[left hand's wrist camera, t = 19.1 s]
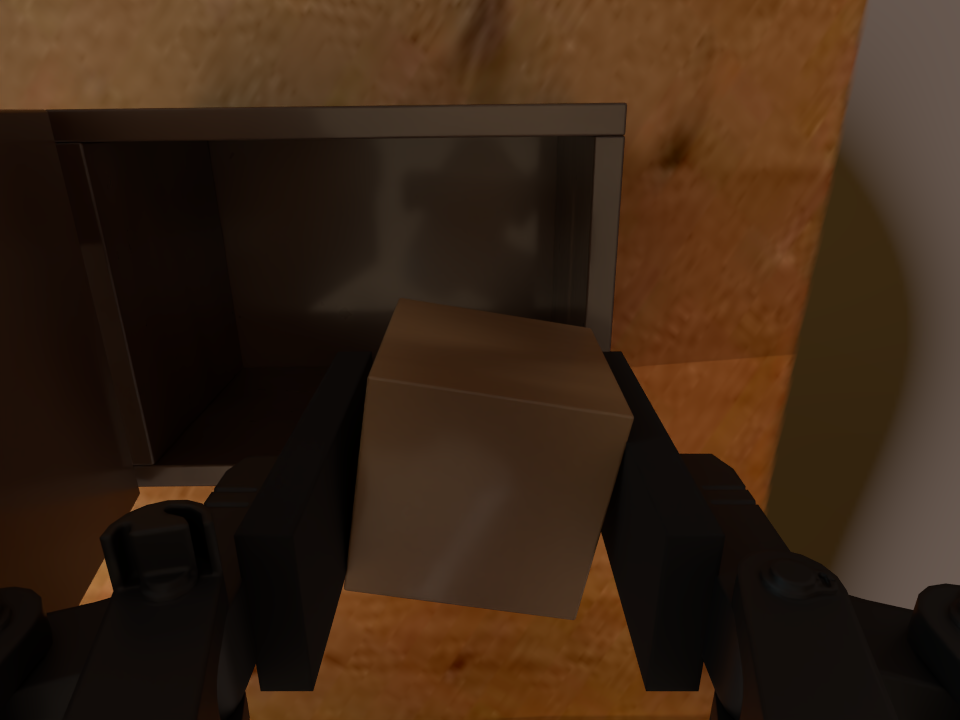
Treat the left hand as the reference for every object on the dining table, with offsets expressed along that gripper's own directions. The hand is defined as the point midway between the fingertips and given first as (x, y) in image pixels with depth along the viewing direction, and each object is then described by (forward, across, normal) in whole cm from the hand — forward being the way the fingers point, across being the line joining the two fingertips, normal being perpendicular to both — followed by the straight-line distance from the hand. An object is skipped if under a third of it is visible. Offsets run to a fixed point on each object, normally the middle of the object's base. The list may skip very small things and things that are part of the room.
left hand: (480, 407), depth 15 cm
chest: (+16, +4, 0) cm, 17 cm away
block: (0, 0, 0) cm, 0 cm away
